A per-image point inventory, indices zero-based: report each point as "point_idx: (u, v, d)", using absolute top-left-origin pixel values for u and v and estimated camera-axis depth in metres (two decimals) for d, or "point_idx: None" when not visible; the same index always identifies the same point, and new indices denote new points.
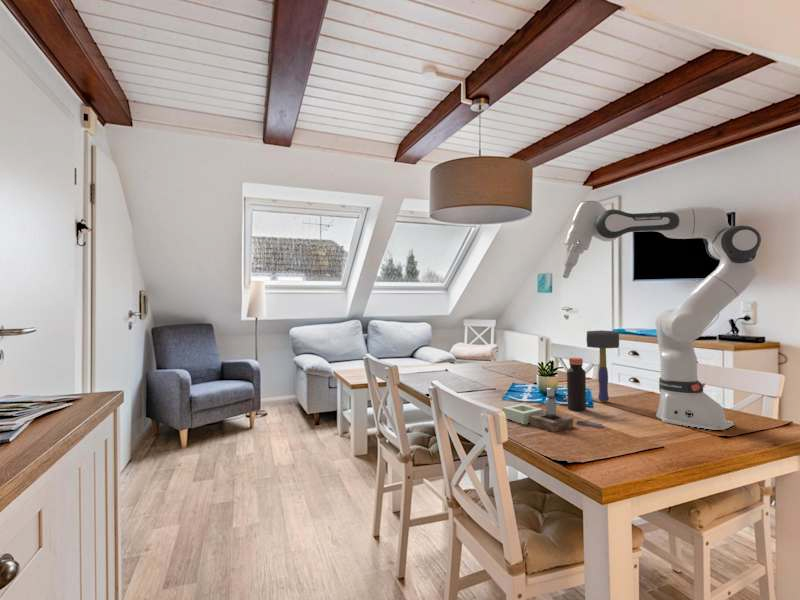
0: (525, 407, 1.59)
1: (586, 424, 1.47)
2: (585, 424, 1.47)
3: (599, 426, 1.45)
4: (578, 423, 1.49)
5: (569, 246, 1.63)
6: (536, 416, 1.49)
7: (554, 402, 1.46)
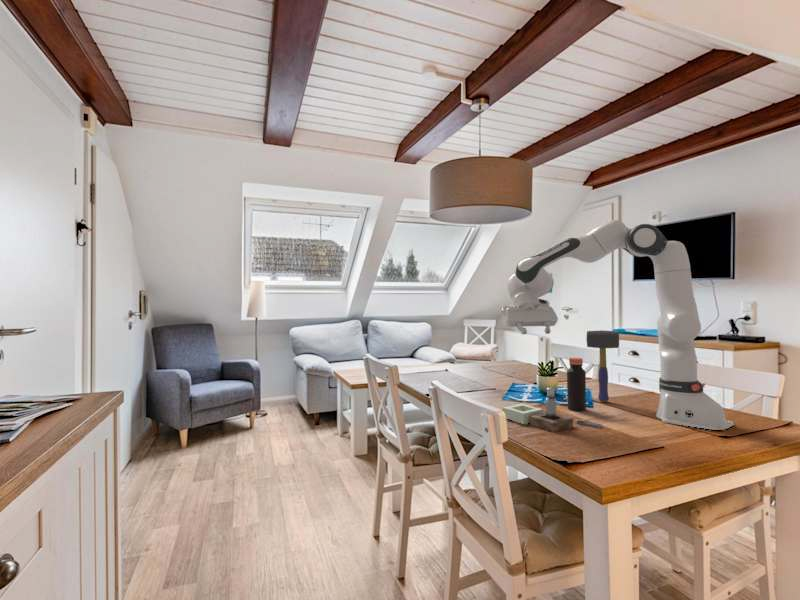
0: (525, 407, 1.59)
1: (586, 424, 1.47)
2: (585, 424, 1.48)
3: (598, 426, 1.45)
4: (578, 422, 1.49)
5: None
6: (536, 416, 1.49)
7: (554, 402, 1.46)
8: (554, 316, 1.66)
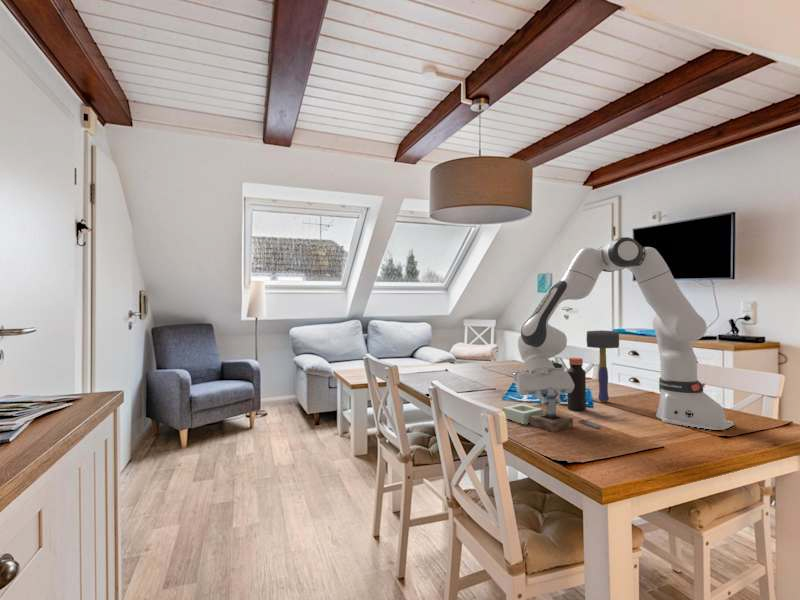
0: (525, 407, 1.59)
1: (585, 423, 1.48)
2: (584, 423, 1.48)
3: (594, 427, 1.44)
4: (580, 421, 1.50)
5: None
6: (536, 416, 1.49)
7: (554, 402, 1.46)
8: (570, 383, 1.51)
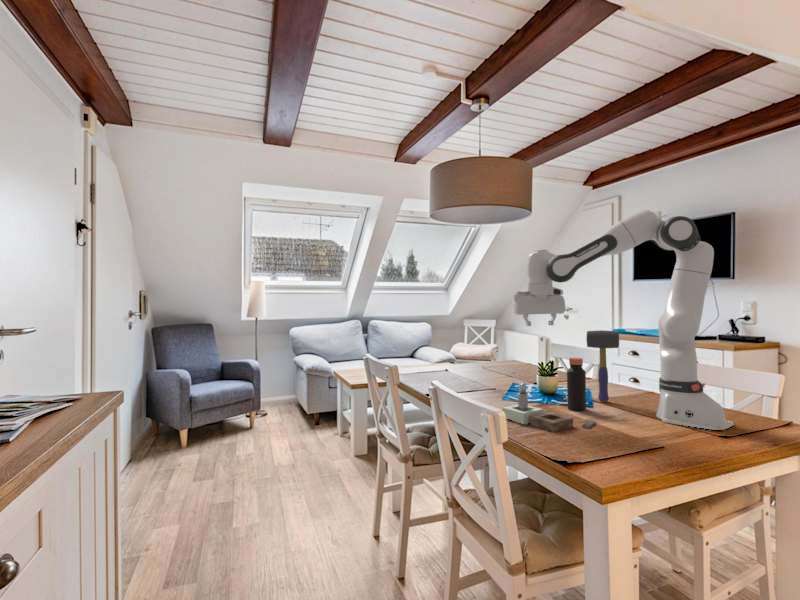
0: None
1: (587, 423, 1.49)
2: (587, 423, 1.49)
3: None
4: None
5: None
6: (536, 416, 1.49)
7: (525, 397, 1.55)
8: (562, 308, 1.70)
